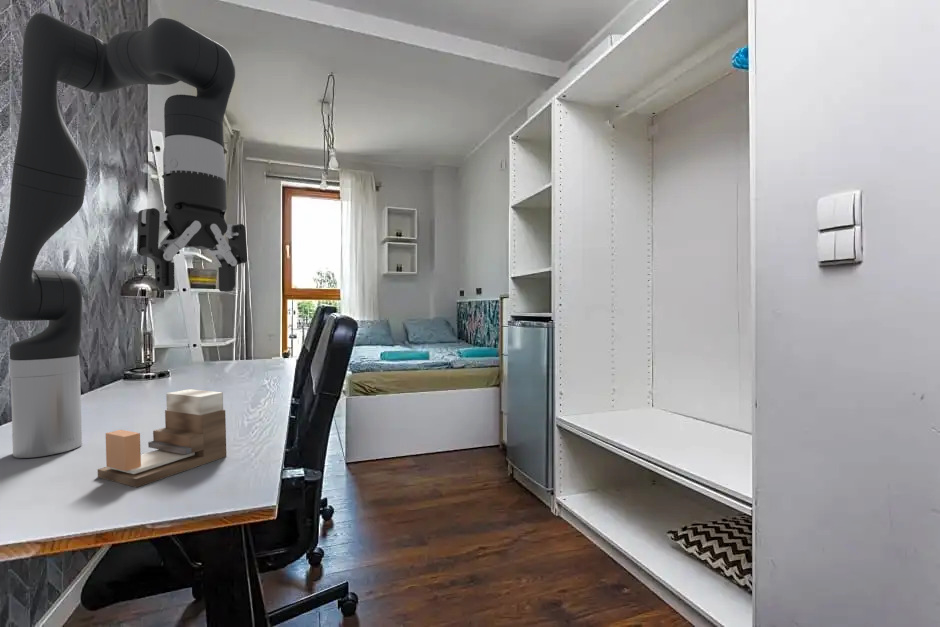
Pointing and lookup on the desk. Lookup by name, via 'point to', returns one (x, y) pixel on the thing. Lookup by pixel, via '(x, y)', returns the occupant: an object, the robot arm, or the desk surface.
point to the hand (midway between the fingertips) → (198, 291)
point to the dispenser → (183, 436)
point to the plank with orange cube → (134, 453)
